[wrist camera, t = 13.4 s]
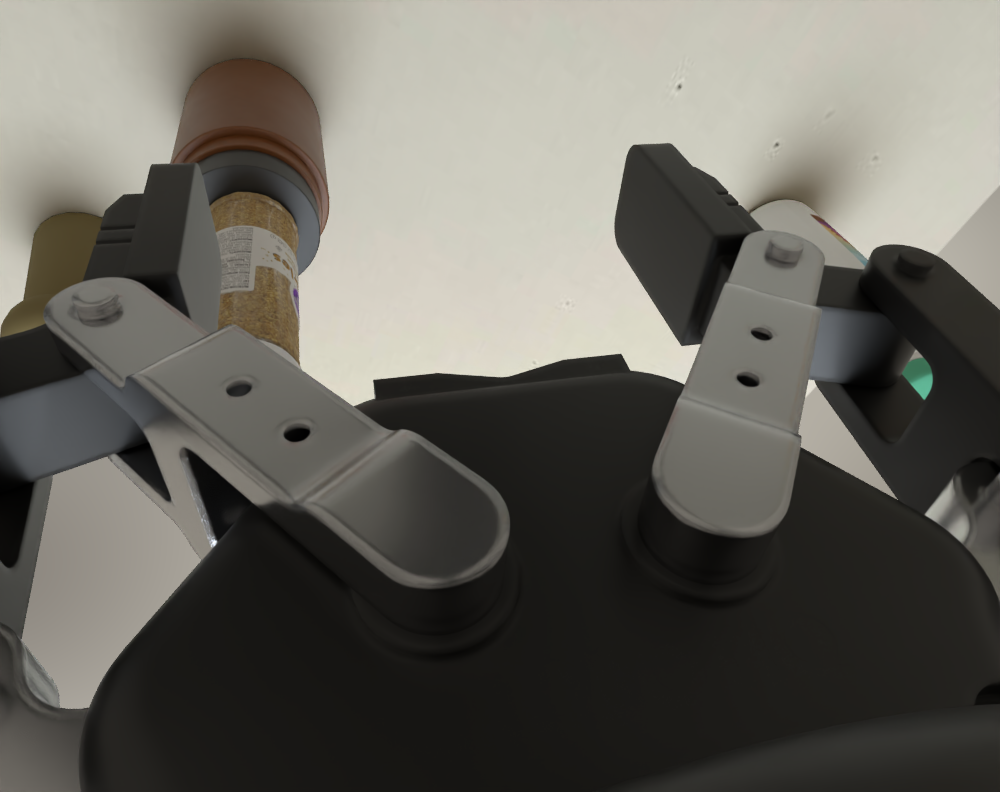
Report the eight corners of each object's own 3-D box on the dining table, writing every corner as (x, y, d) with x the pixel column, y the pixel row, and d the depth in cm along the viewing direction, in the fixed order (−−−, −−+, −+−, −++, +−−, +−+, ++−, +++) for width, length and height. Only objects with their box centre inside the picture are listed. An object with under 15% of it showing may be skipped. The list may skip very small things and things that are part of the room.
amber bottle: (168, 59, 41) (137, 156, 32) (312, 56, 43) (323, 148, 33) (200, 190, 46) (182, 306, 37) (327, 183, 48) (340, 293, 39)
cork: (29, 204, 45) (-24, 306, 37) (137, 221, 47) (109, 321, 39) (35, 285, 48) (-11, 394, 40) (136, 298, 50) (111, 403, 43)
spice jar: (311, 256, 37) (325, 443, 27) (224, 280, 37) (207, 477, 27) (277, 175, 34) (278, 354, 24) (181, 201, 33) (144, 392, 24)
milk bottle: (717, 286, 62) (850, 454, 48) (731, 205, 57) (886, 367, 42) (800, 269, 63) (955, 429, 48) (821, 188, 57) (1003, 341, 43)
